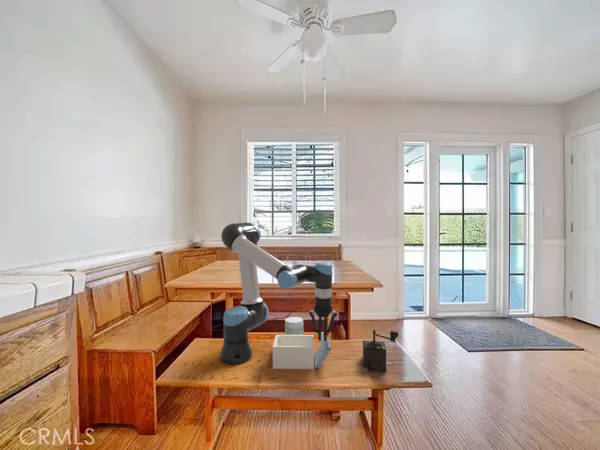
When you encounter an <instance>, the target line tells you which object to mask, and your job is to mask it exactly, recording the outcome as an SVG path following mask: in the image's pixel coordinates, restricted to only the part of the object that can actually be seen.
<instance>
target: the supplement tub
mask: <svg viewBox="0 0 600 450" xmlns="http://www.w3.org/2000/svg"><path fill="white" fill-rule="evenodd" d="M284 321H285V322H284V331H285V332H284V335H305V333H304V329H305V328H304V320H303V318H302V317H299V316H291V317H287V318H285V319H284Z"/></svg>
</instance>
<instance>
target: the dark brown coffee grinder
mask: <svg viewBox="0 0 600 450" xmlns="http://www.w3.org/2000/svg"><path fill="white" fill-rule="evenodd" d="M389 331H390V332H389V335H390V337H389V336H385V335H382V334H377V333H376V332H377V330H376V329H372V335H373V337H372V340H362V350H361V351H362V366H363V368H367V370H368V371H374V372H377V371H379V372H386V371H387V370H388V369H387V348H386V347H387V346H386V344H385V342H384V341H378V340H376V337H380V338H383V339H387V340H389V341H390V342H392V343H396V341H397V338H398V337H399V332H398V331H396V330H389Z"/></svg>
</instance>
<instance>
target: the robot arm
mask: <svg viewBox="0 0 600 450" xmlns="http://www.w3.org/2000/svg"><path fill="white" fill-rule="evenodd" d="M261 234H262V233H261V231H260V228H259V227H258V226H257V224H255V223H252V222H238V223H229V224H227V225H226V226H225V227H224V228H223V230H222V232H221V237H220V238H221V242H222V243H223V245H224V246H225V247H226V248H227V249H228V250H230V251H231V252H232V253H237V254H238V261H239V272H240V281H241V290H242V300H241V301H240V305H238V306H237V305H236V306H232V307H231V306H230V308H227V309H226V310H225V311H224V312H223V319H222V322H223V345H222V348H221V351H220V355H219V356H220V358H221V359H220V361H221V360H222V361H223V362H222V361H221V362H222V363H224V362H225V363H224V364H229V365H238V364H242V363H246V362H248V361H250V360H251V359H252V357H253V349H252V348H251V344H250V341H249V331H251V330H253V329H256V328H257V327H260V326H262V325H263V324H265V322H266V321H267V320H268V317H269V313H270V312H269V307H268V306H267V303H265V302H264V299H263V298H262V297H261V296H260V287H259V280H258V279H259V278H258V277H259V276H258V267H259V268H260V269H262V270H263V271H264V272H266V273H268V274H269V275H270V276H271V277H273V278H274V279H276V280H277V281H276V282H277V283H278V285H279V287H280V288H281V289H285V290H287V289H292V288H294V287H296V286H297V285H301V284H304V283H305V282H306V283H315V284H314V285H315V288H314V289H315V291H314V295H315V298H314V307H313V309H311V310H309V312H308V314H309V316H310V317H311V322H312V327H313V330H314V333H317V334H318V336H317V338H318V341H319V342H320V345H321V349H324V341H326V337H327V334H330V333H331V332H332V329H333V328H332V327H333V325H334V322H335V318H336V317H337V316H338V313H337V311H335V310H334V309H333V307H332V302H333V301H332V300H333V299H332V297H333V296H332V295H333V294H332V293H333V291H332V289H333V265H332V264H331V262H326V261H325V262H323V261H322V262H321V261H320V262H319V261H318V262H316V264H315V265H308V264H302V263H300V264H298V263H296V264H294V265H293V266H292V267H290V266H288V265H287V264H285V263H284V262H282V261H281V260H279V259H278V258H276V257H275V256H273V255H271V253H269V252H267V251H265V250H264V249H262V248H261V247H259V246H258V243H259V241H260V239H261ZM315 315H317V317H318V327H317V322H316V318H315ZM330 315H331V318H330V321H329V324H328V317H329V316H330ZM322 318H323V331H322ZM327 325H328V326H327Z"/></svg>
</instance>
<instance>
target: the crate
mask: <svg viewBox="0 0 600 450" xmlns="http://www.w3.org/2000/svg"><path fill="white" fill-rule="evenodd" d="M314 351H315V349H314V334H304V335H285V334H275V336H274V340H273V344H272V369H274V370H277V369H279V370H280V369H281V370H314V369H315V352H314Z"/></svg>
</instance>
